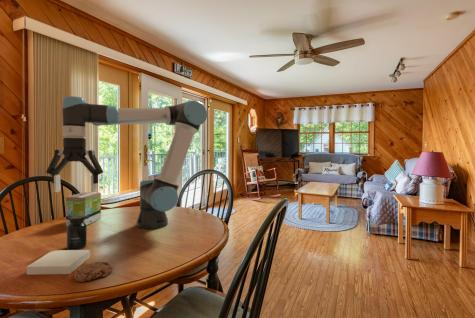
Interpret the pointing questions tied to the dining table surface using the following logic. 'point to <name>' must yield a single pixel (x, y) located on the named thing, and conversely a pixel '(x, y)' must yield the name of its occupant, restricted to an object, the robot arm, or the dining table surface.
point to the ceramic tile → (58, 262)
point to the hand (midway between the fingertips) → (75, 192)
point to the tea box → (84, 207)
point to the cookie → (92, 271)
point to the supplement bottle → (76, 233)
